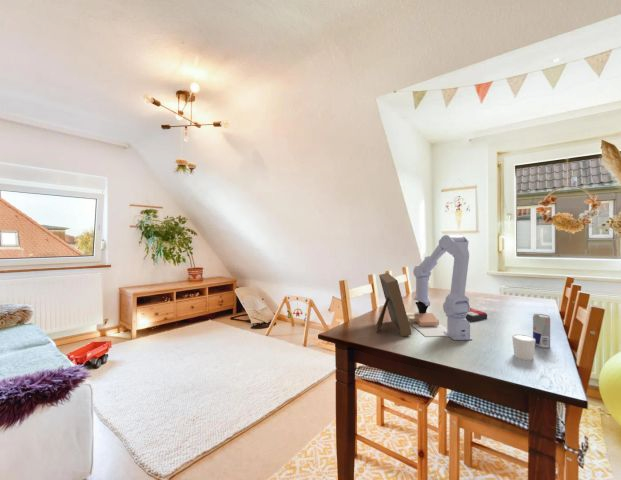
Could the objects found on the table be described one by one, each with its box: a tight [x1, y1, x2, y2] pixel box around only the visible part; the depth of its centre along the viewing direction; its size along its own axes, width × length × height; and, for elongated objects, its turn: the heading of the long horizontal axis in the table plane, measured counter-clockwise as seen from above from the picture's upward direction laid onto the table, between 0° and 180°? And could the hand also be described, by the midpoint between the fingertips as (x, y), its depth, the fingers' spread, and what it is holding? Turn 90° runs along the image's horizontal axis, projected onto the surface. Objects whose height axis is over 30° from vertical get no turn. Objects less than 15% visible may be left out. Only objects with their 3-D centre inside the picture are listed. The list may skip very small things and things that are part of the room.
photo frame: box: [375, 272, 413, 338], centre depth 137 cm, size 15×22×25 cm
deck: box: [406, 311, 440, 325], centre depth 150 cm, size 15×13×2 cm
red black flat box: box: [466, 307, 488, 323], centre depth 154 cm, size 11×4×15 cm
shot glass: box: [511, 334, 536, 361], centre depth 105 cm, size 7×7×7 cm
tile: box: [414, 312, 440, 326], centre depth 142 cm, size 8×9×2 cm
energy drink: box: [532, 313, 551, 349], centre depth 114 cm, size 5×5×12 cm
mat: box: [411, 323, 449, 338], centre depth 134 cm, size 16×14×1 cm
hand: (422, 316), depth 147 cm, fingers closed
